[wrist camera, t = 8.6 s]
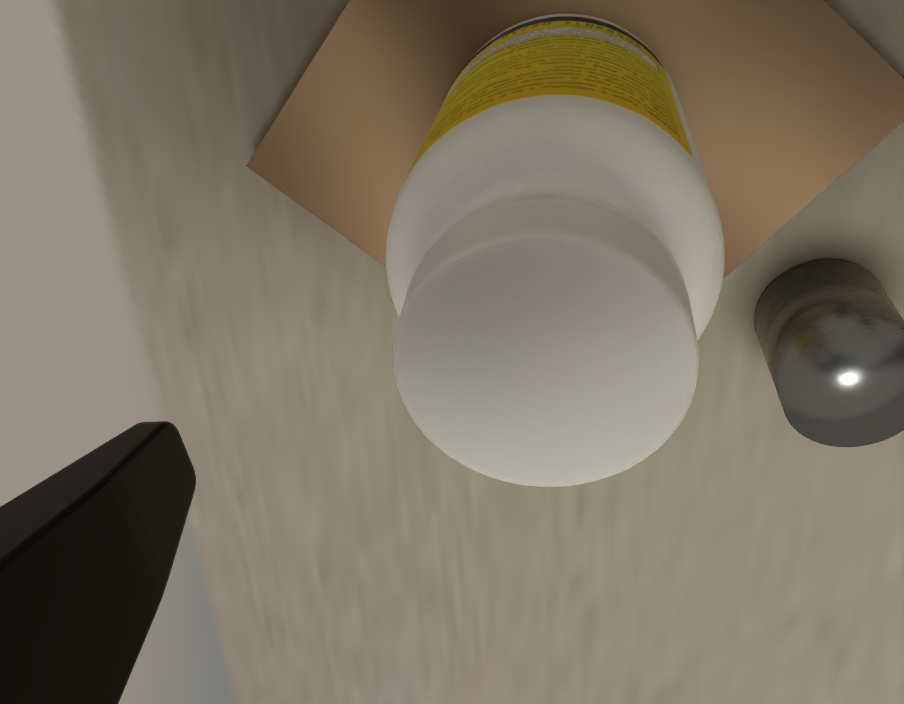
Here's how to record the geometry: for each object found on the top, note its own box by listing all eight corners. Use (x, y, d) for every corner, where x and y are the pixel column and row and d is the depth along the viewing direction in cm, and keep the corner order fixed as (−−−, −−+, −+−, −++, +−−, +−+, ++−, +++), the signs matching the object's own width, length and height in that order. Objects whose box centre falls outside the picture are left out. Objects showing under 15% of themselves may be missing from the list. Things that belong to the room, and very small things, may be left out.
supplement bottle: (400, 83, 18) (256, 282, 10) (624, -41, 16) (671, 81, 8) (507, 274, 20) (461, 563, 12) (714, 186, 18) (822, 460, 10)
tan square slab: (532, -284, 15) (529, -289, 14) (913, 90, 18) (926, 100, 17) (257, 155, 20) (246, 166, 20) (578, 388, 23) (577, 405, 22)
